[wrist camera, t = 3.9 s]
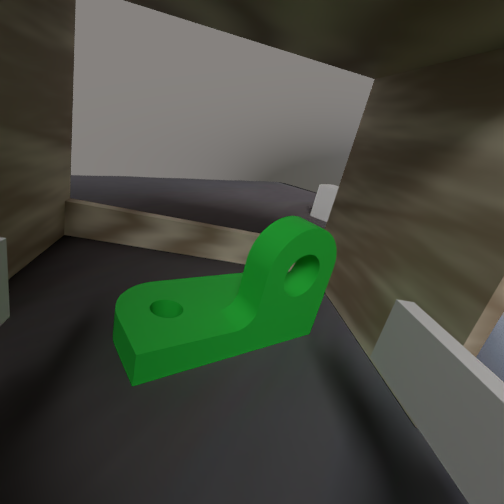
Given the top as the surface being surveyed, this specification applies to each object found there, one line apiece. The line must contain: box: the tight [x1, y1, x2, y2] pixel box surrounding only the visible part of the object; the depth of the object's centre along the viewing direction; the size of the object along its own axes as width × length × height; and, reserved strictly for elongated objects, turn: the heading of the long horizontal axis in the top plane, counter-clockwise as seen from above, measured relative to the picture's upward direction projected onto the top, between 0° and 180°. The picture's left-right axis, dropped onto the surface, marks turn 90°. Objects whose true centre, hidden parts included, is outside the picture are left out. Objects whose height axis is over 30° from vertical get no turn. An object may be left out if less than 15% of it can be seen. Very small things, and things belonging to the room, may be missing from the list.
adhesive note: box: [310, 184, 339, 222], centre depth 58 cm, size 6×6×6 cm
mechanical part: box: [113, 216, 337, 386], centre depth 19 cm, size 12×6×8 cm, turn 126°
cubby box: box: [0, 0, 504, 428], centre depth 18 cm, size 25×18×19 cm
